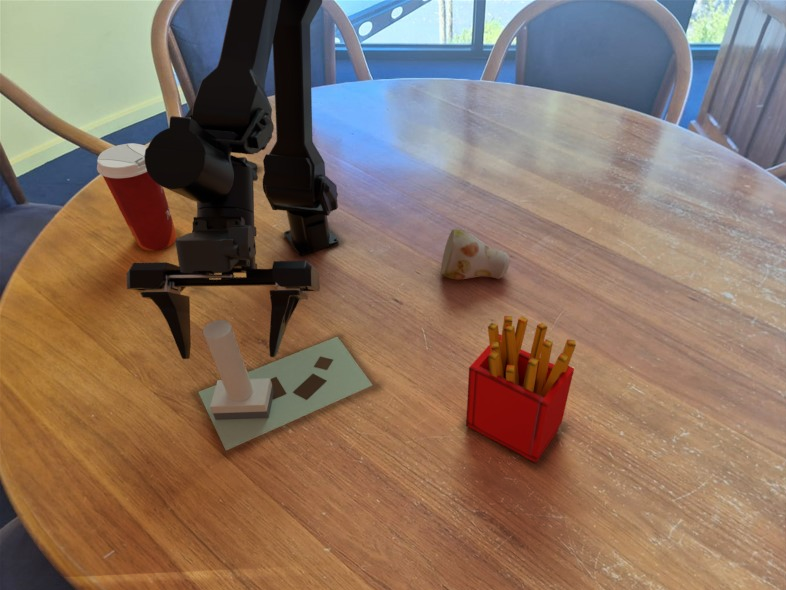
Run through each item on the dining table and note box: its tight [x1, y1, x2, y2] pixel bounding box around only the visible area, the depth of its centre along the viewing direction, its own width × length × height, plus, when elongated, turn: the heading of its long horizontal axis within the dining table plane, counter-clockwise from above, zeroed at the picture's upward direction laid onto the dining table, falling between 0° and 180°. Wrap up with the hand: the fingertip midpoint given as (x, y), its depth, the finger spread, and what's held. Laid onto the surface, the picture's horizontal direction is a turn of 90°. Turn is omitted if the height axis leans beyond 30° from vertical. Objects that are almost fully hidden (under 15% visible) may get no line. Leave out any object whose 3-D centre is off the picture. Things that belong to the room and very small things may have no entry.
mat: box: [198, 336, 373, 451], centre depth 74 cm, size 10×18×1 cm, turn 124°
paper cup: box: [96, 142, 178, 252], centre depth 90 cm, size 8×8×14 cm
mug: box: [440, 228, 511, 281], centre depth 89 cm, size 8×10×10 cm
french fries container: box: [465, 315, 577, 464], centre depth 67 cm, size 7×9×14 cm
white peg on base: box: [202, 319, 274, 420], centre depth 68 cm, size 6×4×12 cm, turn 94°
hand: (229, 357), depth 67 cm, fingers open, 9 cm apart
